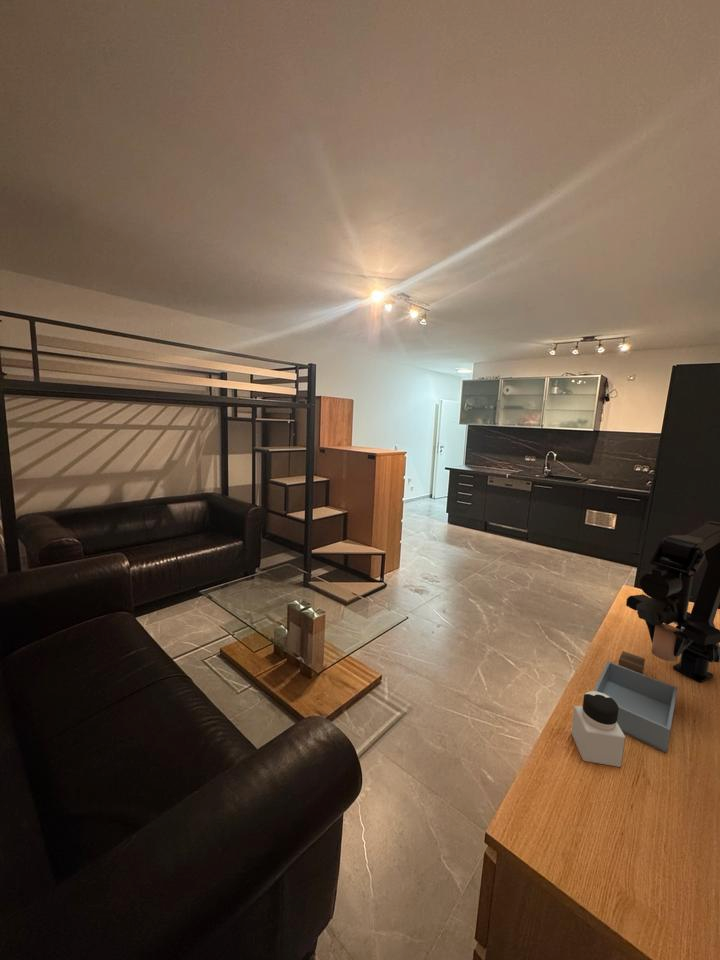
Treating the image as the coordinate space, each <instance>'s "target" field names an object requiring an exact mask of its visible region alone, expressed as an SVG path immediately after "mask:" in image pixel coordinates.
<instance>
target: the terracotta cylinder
mask: <svg viewBox="0 0 720 960" xmlns="http://www.w3.org/2000/svg"><path fill="white" fill-rule="evenodd" d="M676 631H680V630H679V629H677V628H676V626H673V625H671V624H668V625H666V624H664V623H663V624H660V625H655V630H654V637H653V643H652V642H651V649H650V650H651V651H650V652H651V654H653V656H654V657H656V658H658V659H660V660H663V661H666V662H676V661H678V657H679V656H674V647H675V642H676V636H675V634H674V633H673V632H676Z"/></svg>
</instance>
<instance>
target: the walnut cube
mask: <svg viewBox="0 0 720 960" xmlns="http://www.w3.org/2000/svg"><path fill="white" fill-rule="evenodd" d="M645 661H646V658H644V657H641V656H638V655H635V654H633V653H630V652H627V651H626V650H625V651H624V650H622V651H621V654H620V656H619V658H618V665H620V666H623V667H625V668H628V669H630V670H633V671H636V672H638V673H641V674H644V669H645V668H644V667H645Z"/></svg>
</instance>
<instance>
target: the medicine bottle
mask: <svg viewBox="0 0 720 960" xmlns="http://www.w3.org/2000/svg"><path fill="white" fill-rule="evenodd" d="M618 710H619V707H618V705H617V703H616V702H615V701H614V700H613V699H612V698H611V697H609V696H608V695H606V694H604V693H601V692H597V691H593V690H590V691H587V692H585V693H584V695H583V701H582V706H580V705H574V706H573V714H572V724H571V730H570V731H571V733H570V734H571V735H572V737H573V738H572V739H573V740H574V743H575V745H576V747H577V750H578V752H579V755H580V756H581V759H582V761H584V762H588V763H593V764H594V763H595V764H601V765H606V766H607V765H608V766H610V767H611V766H612V767H617V768H618V767H619V768H620V767H622V766H623V757H624V750H625V745H626V744H625V743H626V734H625V733H623V732H622V730H621V728H620V727H619V725H618V723H617V718H618Z"/></svg>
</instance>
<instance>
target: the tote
mask: <svg viewBox="0 0 720 960" xmlns="http://www.w3.org/2000/svg"><path fill="white" fill-rule="evenodd" d="M592 691H597V692H601V693H604V694H606V695H608V696H609V697H611V698H612V699H613V700H614V701H615V702H616V703H617V705H618V707H619V710H618V718H617V723H618V725H619V727H620V728H621V730H622V732H623V734H624V735H627V736H629V737H632V738H633V739H636V740H638V741H640V742H642V743H644V744H646V745H648V746H651V747H652V748H655V749H657V750H659V751H661V752H663V753H664V754H667V752H668V746H669V742H670V735H671V731H672V724H673V719H674V712H675V707H676V701H677V694H678V686H675V685H672V684H670V683H666V682H664V681H662V680H659V679H656V678H654V677H651V676H649V675H646V674H645V673H643V674H641V673H638V672H636V671H633V670H630V669H628V668H625V667H623V666H620V665H619V664H618V663H614V662H612V661H607V662H606V664H605V666H604V668H603V670H602V672H601V674H600V676H599V679H598V680H597V683H596V684H595V687H594V688H593V690H592Z"/></svg>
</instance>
